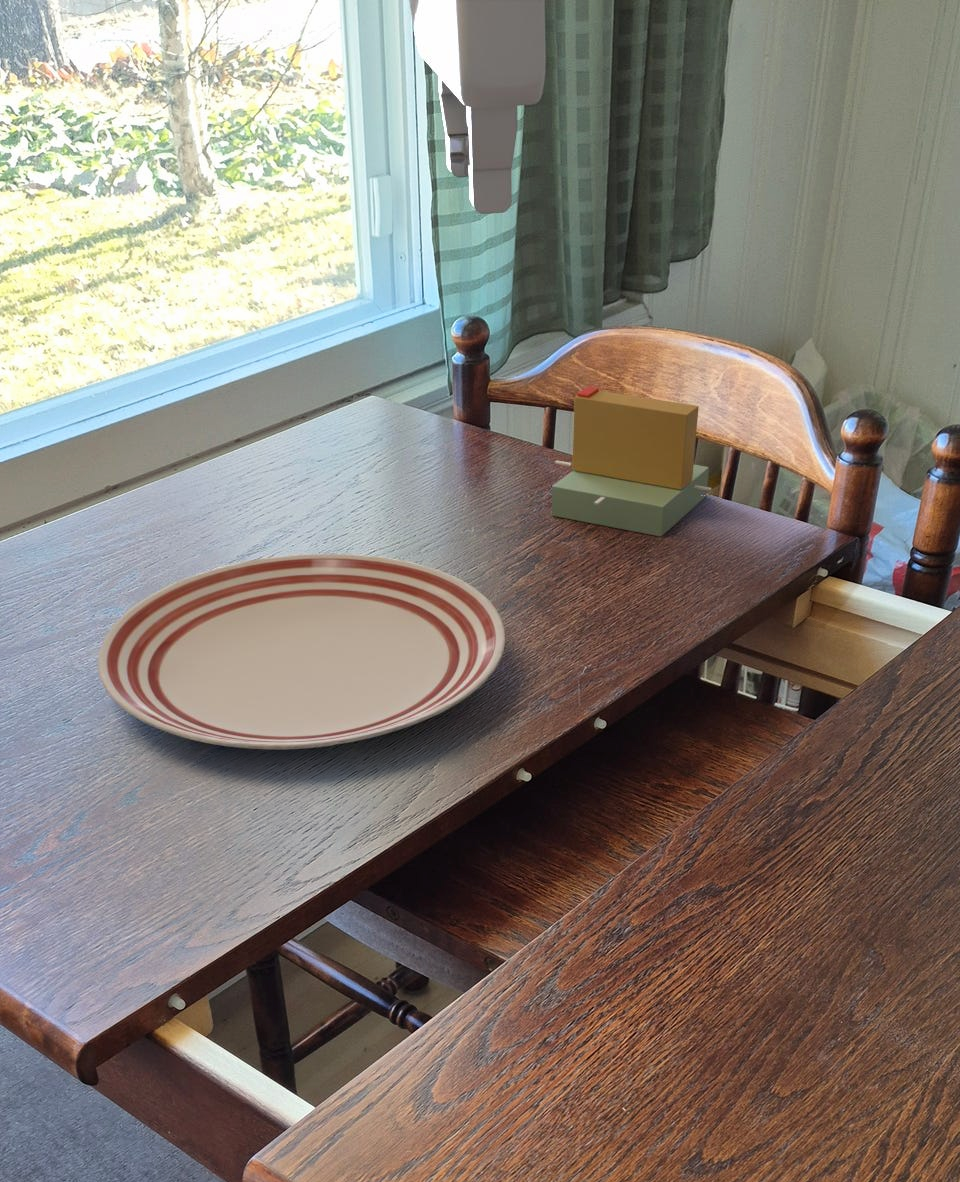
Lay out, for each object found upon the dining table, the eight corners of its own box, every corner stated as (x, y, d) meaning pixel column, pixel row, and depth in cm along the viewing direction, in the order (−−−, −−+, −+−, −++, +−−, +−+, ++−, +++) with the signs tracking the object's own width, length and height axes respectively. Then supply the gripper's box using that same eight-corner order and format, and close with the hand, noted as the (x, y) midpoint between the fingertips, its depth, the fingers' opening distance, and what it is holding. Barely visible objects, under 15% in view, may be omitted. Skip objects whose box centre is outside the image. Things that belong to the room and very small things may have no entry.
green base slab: (738, 492, 124) (741, 461, 122) (674, 551, 115) (677, 518, 113) (589, 466, 129) (590, 435, 127) (517, 520, 120) (517, 488, 118)
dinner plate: (407, 817, 85) (405, 768, 83) (23, 736, 93) (11, 689, 91) (560, 627, 104) (561, 583, 102) (230, 573, 112) (225, 531, 110)
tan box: (692, 480, 119) (699, 402, 115) (681, 490, 118) (688, 411, 114) (583, 461, 123) (586, 385, 119) (571, 470, 121) (574, 393, 117)
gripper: (585, -182, 54) (579, 231, 63) (506, -176, 70) (510, 154, 78) (419, -176, 54) (436, 240, 62) (377, -172, 69) (396, 161, 78)
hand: (477, 192), depth 71 cm, fingers open, 8 cm apart
